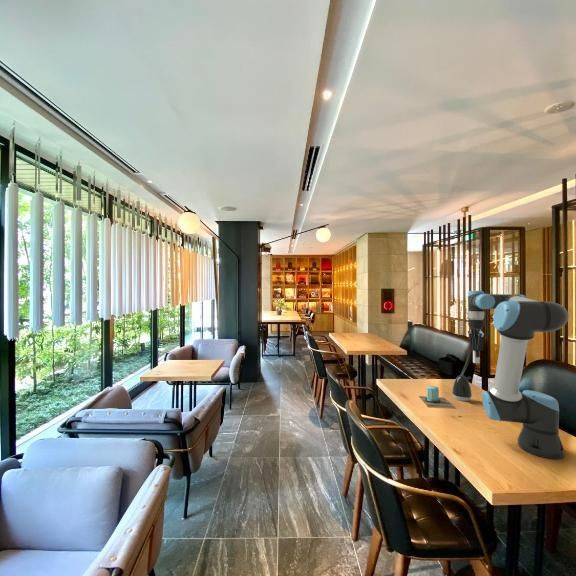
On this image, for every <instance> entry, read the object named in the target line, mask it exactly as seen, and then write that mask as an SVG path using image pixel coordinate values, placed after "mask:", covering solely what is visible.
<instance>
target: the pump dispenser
mask: <svg viewBox="0 0 576 576" xmlns="http://www.w3.org/2000/svg"><path fill="white" fill-rule="evenodd" d="M471 379H472V377H471V376H467V377H466V376H465V375H459V374H458V375H457V377H456V378H455V380H454V382H453V386H452V391H451V392H452V396H453V398H454V399H455V400H457V401H460V402H469V401H470V400H471V398H472V387H471V385H470V381H469V380H471Z"/></svg>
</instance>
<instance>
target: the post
mask: <svg viewBox="0 0 576 576" xmlns="http://www.w3.org/2000/svg"><path fill="white" fill-rule="evenodd" d="M425 397H426V398H425V400H426V401H427V402H430V403H440V399H439V400H438V401H431V400H428V399H427V396H425Z"/></svg>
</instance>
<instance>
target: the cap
mask: <svg viewBox="0 0 576 576" xmlns="http://www.w3.org/2000/svg"><path fill="white" fill-rule="evenodd" d="M439 393H440V389H439V387H438V386H435V385H427V386H426V397H427V399H428V400H431V401H438V400H439V396H440V394H439Z"/></svg>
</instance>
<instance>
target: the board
mask: <svg viewBox="0 0 576 576" xmlns="http://www.w3.org/2000/svg"><path fill="white" fill-rule="evenodd" d="M418 397H419V399H420V400H421V401H422V402H423V403H424V404H425V405H426V407H427V408H431V409H432V408H433V409H451V410H452V409H453V410H457V408H456V407H455V406H454V405H453V404H452V403H451V402H450V401H449V400H447V399H446V398H445V397H443V396H441V397H439V399H440V403H430V402H427V401H426V400H425V398H426V397H427V396H426V395H425V396H424V395H423V396H421V395H420V396H418Z"/></svg>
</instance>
